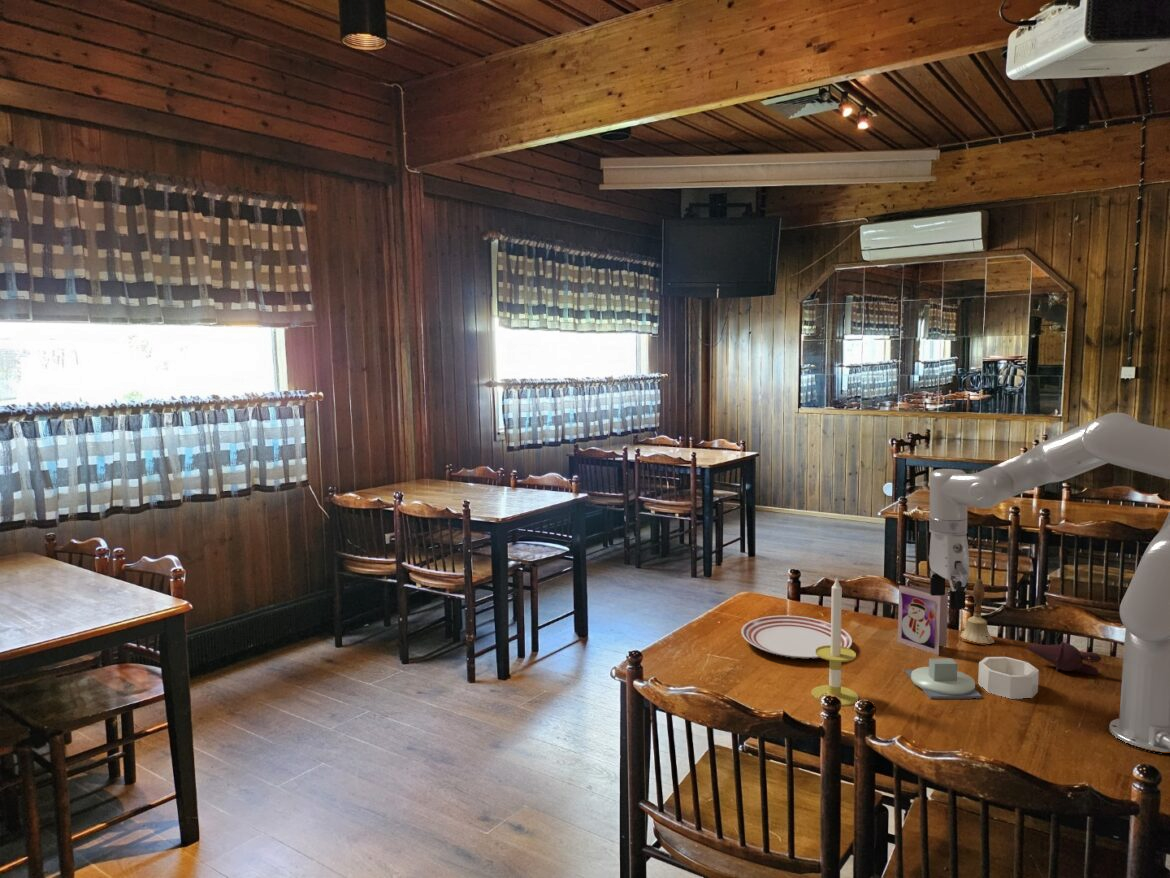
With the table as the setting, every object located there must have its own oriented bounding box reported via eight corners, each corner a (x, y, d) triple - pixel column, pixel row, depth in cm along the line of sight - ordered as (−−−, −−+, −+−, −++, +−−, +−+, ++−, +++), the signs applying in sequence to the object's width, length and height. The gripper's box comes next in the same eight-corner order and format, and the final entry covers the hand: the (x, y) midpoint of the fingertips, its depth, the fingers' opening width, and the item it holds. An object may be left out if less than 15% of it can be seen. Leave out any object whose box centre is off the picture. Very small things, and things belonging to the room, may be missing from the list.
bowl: (1045, 698, 168) (1047, 676, 168) (995, 699, 168) (996, 676, 168) (1019, 677, 179) (1019, 656, 178) (971, 678, 179) (972, 657, 179)
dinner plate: (876, 656, 194) (876, 643, 193) (783, 674, 184) (783, 661, 183) (805, 621, 219) (806, 609, 219) (721, 635, 209) (721, 623, 209)
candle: (827, 709, 165) (830, 584, 162) (802, 689, 175) (803, 572, 172) (868, 702, 168) (871, 580, 165) (841, 683, 178) (843, 567, 175)
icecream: (1024, 642, 183) (1100, 662, 174) (1030, 626, 189) (1103, 644, 180) (1021, 667, 186) (1096, 687, 177) (1026, 650, 191) (1099, 669, 182)
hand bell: (963, 631, 208) (965, 573, 206) (997, 638, 203) (1000, 578, 201) (954, 641, 202) (957, 580, 200) (990, 648, 197) (992, 586, 195)
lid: (985, 695, 169) (986, 672, 169) (924, 695, 170) (925, 673, 169) (958, 670, 182) (959, 649, 182) (902, 670, 182) (902, 650, 182)
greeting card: (895, 642, 201) (897, 586, 200) (912, 636, 205) (914, 580, 204) (936, 656, 192) (938, 597, 190) (954, 649, 196) (956, 591, 194)
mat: (982, 698, 169) (982, 695, 169) (930, 698, 169) (930, 696, 169) (952, 671, 183) (952, 669, 183) (905, 672, 183) (905, 669, 183)
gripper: (984, 533, 163) (983, 613, 165) (947, 517, 180) (946, 589, 182) (948, 534, 163) (947, 614, 165) (914, 518, 181) (914, 590, 182)
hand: (947, 601), depth 173 cm, fingers open, 9 cm apart
